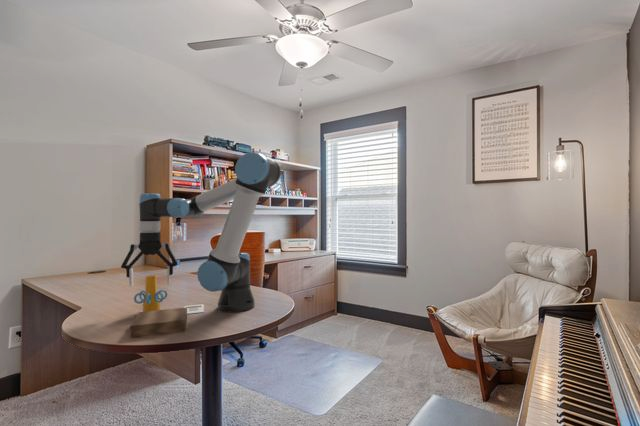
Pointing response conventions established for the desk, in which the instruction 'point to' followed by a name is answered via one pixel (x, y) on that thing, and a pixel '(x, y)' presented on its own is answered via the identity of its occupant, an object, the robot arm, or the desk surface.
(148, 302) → the yellow post with rings
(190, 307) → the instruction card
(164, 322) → the base block
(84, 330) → the desk surface
